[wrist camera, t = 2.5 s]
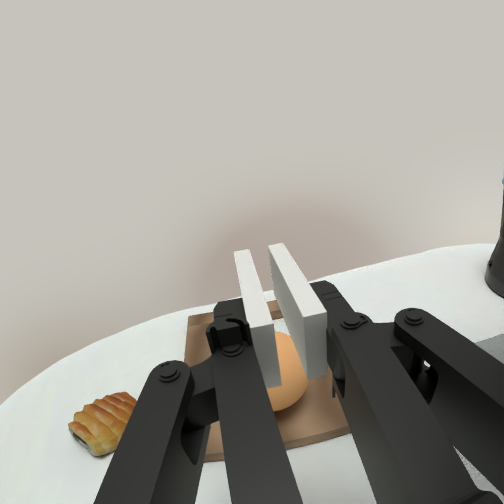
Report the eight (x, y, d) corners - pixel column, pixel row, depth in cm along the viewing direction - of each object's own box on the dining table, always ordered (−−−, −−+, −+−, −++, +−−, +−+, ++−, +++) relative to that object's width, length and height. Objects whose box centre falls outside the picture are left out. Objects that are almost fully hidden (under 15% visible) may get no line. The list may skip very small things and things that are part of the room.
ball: (301, 366, 34) (296, 308, 31) (321, 416, 27) (320, 357, 24) (233, 379, 34) (218, 323, 31) (239, 433, 26) (221, 377, 23)
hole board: (313, 300, 50) (313, 292, 49) (383, 421, 26) (385, 412, 25) (190, 323, 49) (188, 316, 48) (183, 463, 25) (178, 456, 24)
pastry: (118, 394, 35) (106, 373, 33) (155, 412, 32) (144, 391, 30) (71, 439, 27) (55, 419, 26) (106, 466, 24) (89, 447, 23)
